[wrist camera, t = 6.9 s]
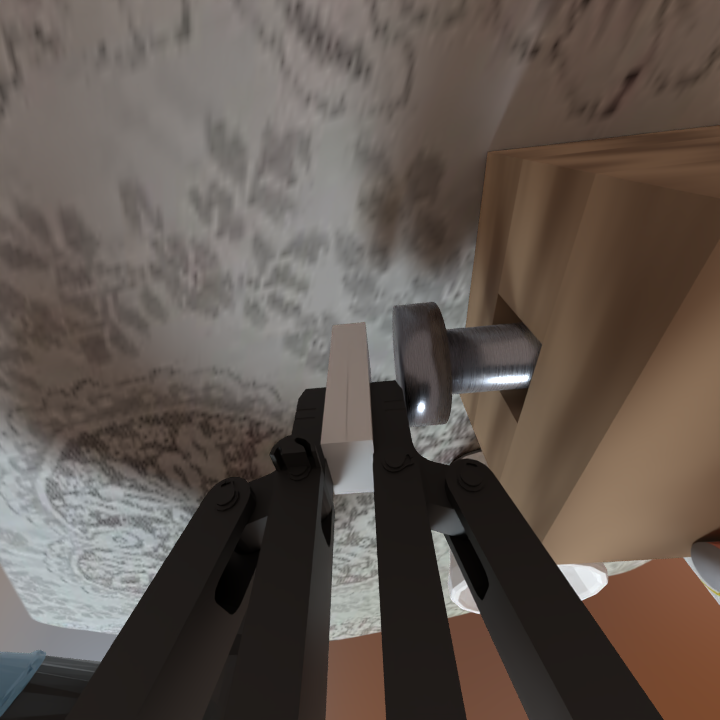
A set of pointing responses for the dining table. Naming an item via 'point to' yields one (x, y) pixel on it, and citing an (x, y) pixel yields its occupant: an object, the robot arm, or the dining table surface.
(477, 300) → the block
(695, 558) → the keeper tab
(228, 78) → the dining table surface
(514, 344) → the hitch pin
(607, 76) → the dining table surface
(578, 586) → the cup
